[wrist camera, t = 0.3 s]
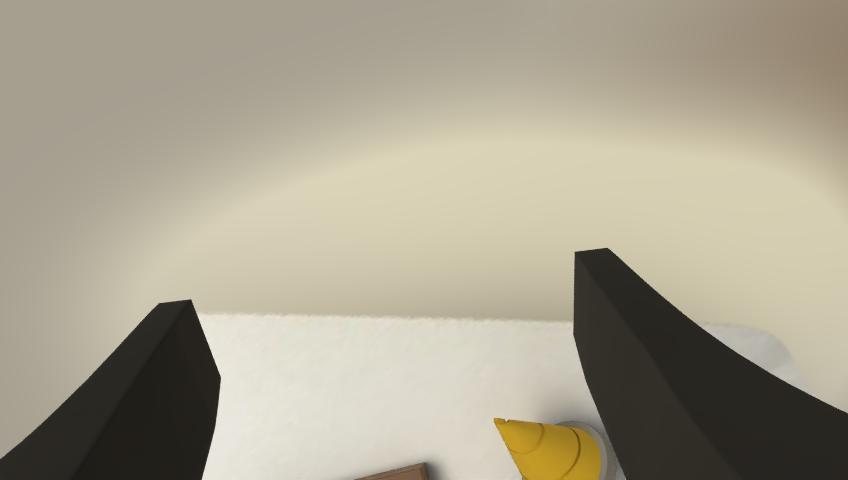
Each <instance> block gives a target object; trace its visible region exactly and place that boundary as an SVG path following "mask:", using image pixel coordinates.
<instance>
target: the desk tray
mask: <svg viewBox="0 0 848 480" xmlns="http://www.w3.org/2000/svg"><path fill="white" fill-rule="evenodd" d="M355 480H429V476H428V472H427V468H426V464H425V463H420V464H416V465H412V466H408V467H404V468H400V469H396V470H392V471H388V472H384V473H379V474H375V475H371V476H367V477H363V478H359V479H355Z"/></svg>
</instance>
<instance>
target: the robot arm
mask: <svg viewBox="0 0 848 480" xmlns="http://www.w3.org/2000/svg"><path fill="white" fill-rule="evenodd" d="M574 271H575V272H574V276H575V277H574V332H573V335H574V339H575V342H576V346H577V350H578V354H579V358H580V362H581V365H582V369H583V372H584V376H585V379H586V382H587V385H588V388H589V390H590V393H591V395H592V397H593V400H594V402H595V405H596V407H597V410H598V412H599V415H600V417H601V420H602V422H603V424H604V427H605V429H606V432H607V434H608V436H609V439H610V441H611V444H612V446H613V448H614V451H615V453H616V456H617V458H618V461H619V463H620V465H621V468H622V470H623V473H624V475H625V477H626V480H848V413H846V412H844V411H842V410H839V409H837V408H835V407H833V406H831V405H829V404H827V403H825V402H823V401H821V400H819V399H817V398H815V397H813V396H811V395H809V394H807V393H805V392H804V391H802V390H800V389H798V388H796V387H794V386H792V385H790V384H788V383H787V382H785V381H783V380H781V379H779V378H778V377H776V376H774V375H772V374H771V373H769V372H767V371H766V370H764V369H762V368H761V367H759V366H758V365H756V364H754V363H753V362H751V361H749V360H748V359H746V358H744V357H743V356H741V355H740V354H738V353H737V352H735V351H734V350H732V349H731V348H729V347H728V346H726V345H725V344H723V343H722V342H720V341H719V340H718V339H716V338H715V337H713V336H712V335H711V334H709V333H708V332H706V331H705V330H704V329H702V328H701V327H700V326H698V325H697V324H696V323H694V322H693V321H692V320H691V319H689V318H688V317H687V316H685V315H684V314H683V313H682V312H681V311H679V310H678V309H677V308H676V307H674V306H673V305H672V304H671V303H670V302H668V301H667V300H666V299H665V298H664V297H662V296H661V295H660V294H659V293H658V292H657V291H655V290H654V289H653V288H652V287H651V286H650V285H649V284H647V283H646V282H645V281H644V280H643V279H642V278H641V277H640V276H638V275H637V274H636V273H635V272H634V271H633V270H632V269H631V268H630V267H628V266H627V265H626V264H625V263H624V262H623V261H622V260H621V259H620V258H619V257H618V256H616V255H615V254H614V253H613V252H612V251H611V250H610V249H608V248H602V249H595V250H586V251H579V252H575V270H574ZM220 382H221V377H220V374H219V371H218V369H217V366H216V363H215V361H214V358H213V356H212V353H211V350H210V348H209V345H208V342H207V340H206V337H205V335H204V332H203V329H202V327H201V324H200V321H199V319H198V316H197V314H196V311H195V308H194V306H193V303H192V300H183V301H175V302H167V303H159V304H158V305H157V306H156V307H155V308H154V309H153V310H152V311H151V312H150V313H149V314H148V315H147V316H146V317H145V318H144V319H143V320H142V321H141V322H140V323H139V325H138V326H137V327H136V328H135V329H134V330H133V331H132V332H131V333H130V334H129V335H128V337H127V338H126V339H125V340H124V341H123V342H122V343H121V344H120V345H119V346H118V347H117V349H116V350H115V351H114V352H113V353H112V354H111V355H110V356H109V357H108V358H107V359H106V360H105V361H104V362H103V363H102V365H101V366H100V367H99V368H98V369H97V370H96V371H95V372H94V373H93V374H92V375H91V376H90V377H89V378H88V379H87V380H86V381H85V382H84V383H83V384H82V385H81V386H80V387H79V388H78V389H77V390H76V391H75V392H74V393H73V394H72V395H71V396H70V397H69V398H68V399H67V400H66V401H65V402H64V403H63V404H62V405H61V406H60V407H59V408H58V409H57V410H56V411H54V413H52V414H51V415H50V417H48V418H47V419H46V420H45V421H44V422H43V423H42V424H41V425H40V426H39V427H38V428H37V429H35V430H34V431H33V432H32V433H31V434H30V435H29V436H27V437H26V438H25V439H24V440H23V441H22V442H21V443H19V444H18V445H17V446H16V447H15V448H13V449H12V450H11V451H10V452H9V453H7V454H6V455H5V456H4V457H2V458H1V459H0V480H202V476H203V472H204V469H205V465H206V461H207V457H208V453H209V449H210V446H211V442H212V438H213V434H214V429H215V424H216V417H217V409H218V401H219V392H220Z"/></svg>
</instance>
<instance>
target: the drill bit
mask: <svg viewBox="0 0 848 480" xmlns="http://www.w3.org/2000/svg"><path fill="white" fill-rule="evenodd" d="M494 423H495V425H496V427H497V429H498V430H499V432H500V434H501V436H502V438H503V440H504V442H505V444H506V446H507V448H508V450H509V452H510V454H511V456H512V458H513V460H514V462H515V464H516V465H517V467H518V469H519V471H520V473H521V475H522V480H615V479H616V459H615V455H614V452H613V449H612V448H611V446H610V444H609V443H608V441H607V440H606V439H605V438H604V437H603V436H602V435H601V434H599V433H598V432H597V431H596V430H594V429H593V428H591V427H590V426H588V425H587V424H584V423H581V422H575V421H569V422H562V423H559V424H556V425H549V424H541V423H532V422H524V421H516V420H508V421H507V422H506V421H505V419H500V418H494Z"/></svg>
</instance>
